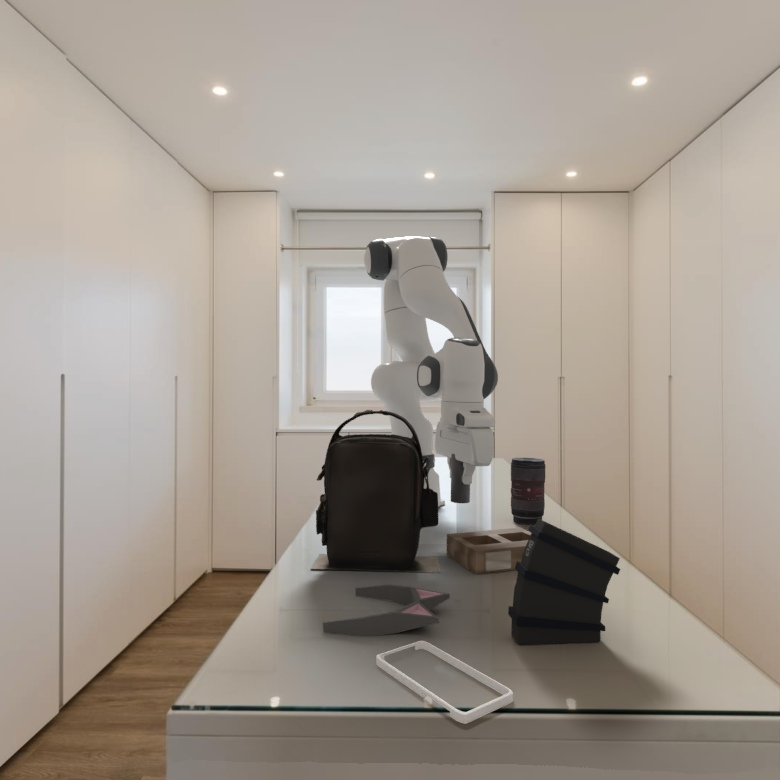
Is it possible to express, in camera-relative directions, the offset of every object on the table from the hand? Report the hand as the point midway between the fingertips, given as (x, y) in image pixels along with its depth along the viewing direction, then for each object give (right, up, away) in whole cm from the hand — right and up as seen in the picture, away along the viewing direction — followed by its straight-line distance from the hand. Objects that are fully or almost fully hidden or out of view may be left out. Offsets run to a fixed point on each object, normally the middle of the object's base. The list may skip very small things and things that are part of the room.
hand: (460, 481), depth 119 cm
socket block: (+6, -12, -13) cm, 19 cm away
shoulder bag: (-17, -13, -16) cm, 26 cm away
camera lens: (+18, -13, +17) cm, 28 cm away
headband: (-15, -13, -40) cm, 45 cm away
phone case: (-9, -13, -57) cm, 59 cm away
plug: (0, -4, 0) cm, 4 cm away
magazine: (+7, -13, -47) cm, 49 cm away
